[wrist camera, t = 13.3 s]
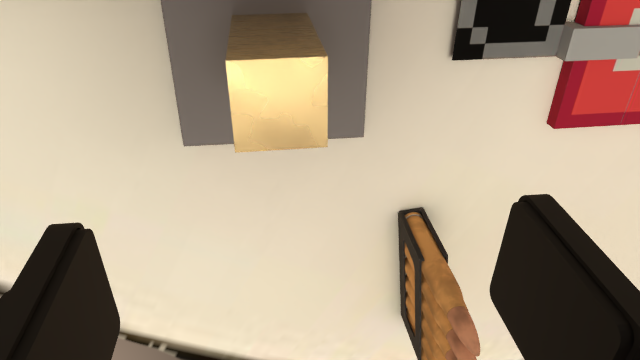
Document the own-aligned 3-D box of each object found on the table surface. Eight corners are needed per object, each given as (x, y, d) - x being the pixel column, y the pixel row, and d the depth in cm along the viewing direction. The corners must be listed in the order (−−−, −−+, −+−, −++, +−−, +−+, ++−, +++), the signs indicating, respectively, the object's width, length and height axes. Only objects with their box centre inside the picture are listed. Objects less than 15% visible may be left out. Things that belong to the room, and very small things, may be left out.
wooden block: (307, 12, 26) (327, 56, 19) (308, 84, 28) (327, 146, 21) (231, 15, 25) (225, 60, 19) (238, 87, 27) (234, 152, 21)
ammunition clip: (398, 210, 34) (461, 346, 24) (423, 206, 34) (497, 340, 24) (401, 315, 40) (453, 461, 30) (422, 311, 40) (482, 455, 30)
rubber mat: (372, -60, 25) (374, -59, 24) (361, 132, 31) (363, 137, 30) (153, -59, 24) (151, -58, 23) (184, 141, 29) (183, 146, 29)
